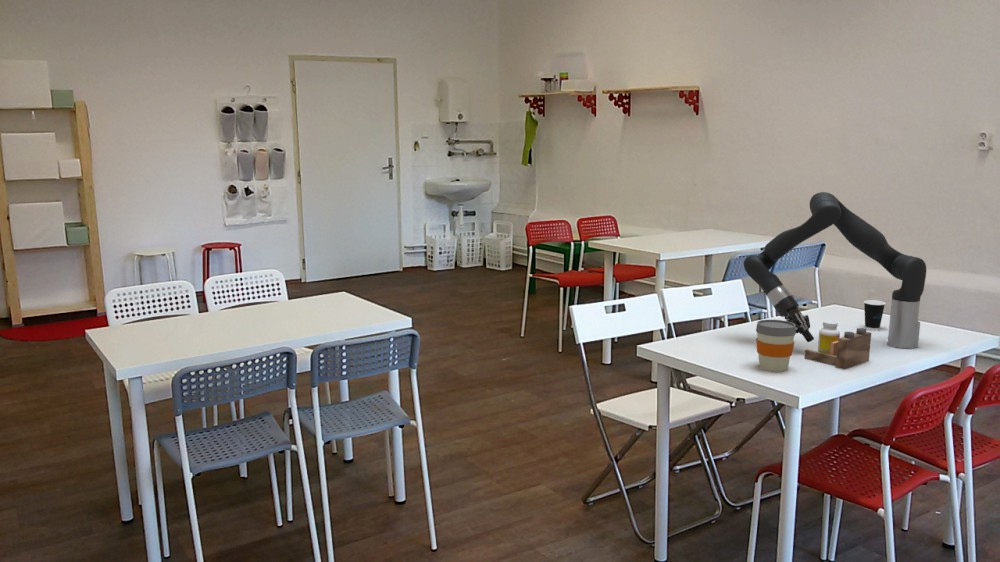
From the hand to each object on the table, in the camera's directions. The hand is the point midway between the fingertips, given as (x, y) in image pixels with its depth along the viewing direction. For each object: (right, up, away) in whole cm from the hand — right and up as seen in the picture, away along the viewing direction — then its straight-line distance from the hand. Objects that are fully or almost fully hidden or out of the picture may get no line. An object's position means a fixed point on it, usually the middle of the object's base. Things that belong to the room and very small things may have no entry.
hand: (811, 340), depth 284 cm
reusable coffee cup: (-18, -8, -15) cm, 25 cm away
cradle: (+6, -6, -6) cm, 10 cm away
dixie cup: (+39, +2, +38) cm, 55 cm away
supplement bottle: (+4, -6, -3) cm, 8 cm away
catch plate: (+7, -5, -7) cm, 11 cm away
